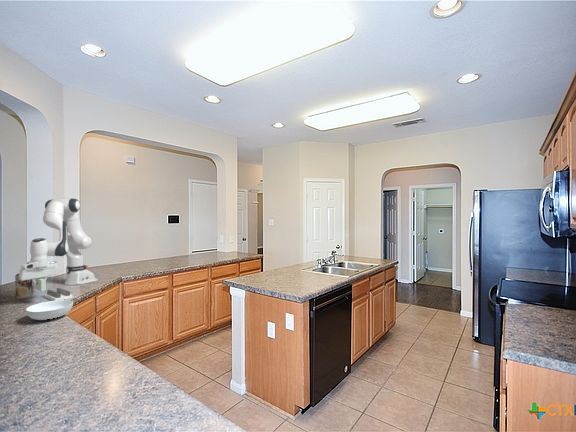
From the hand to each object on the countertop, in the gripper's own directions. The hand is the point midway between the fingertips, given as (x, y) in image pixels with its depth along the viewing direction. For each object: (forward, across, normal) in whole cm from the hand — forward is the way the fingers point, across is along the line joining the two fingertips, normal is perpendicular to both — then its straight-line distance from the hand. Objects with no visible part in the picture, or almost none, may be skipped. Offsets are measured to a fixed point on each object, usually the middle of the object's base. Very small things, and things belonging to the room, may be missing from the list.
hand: (39, 284), depth 193 cm
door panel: (+3, 0, 0) cm, 3 cm away
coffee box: (+12, +2, -20) cm, 23 cm away
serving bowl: (+11, +8, +38) cm, 40 cm away
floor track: (+12, -10, 0) cm, 15 cm away
